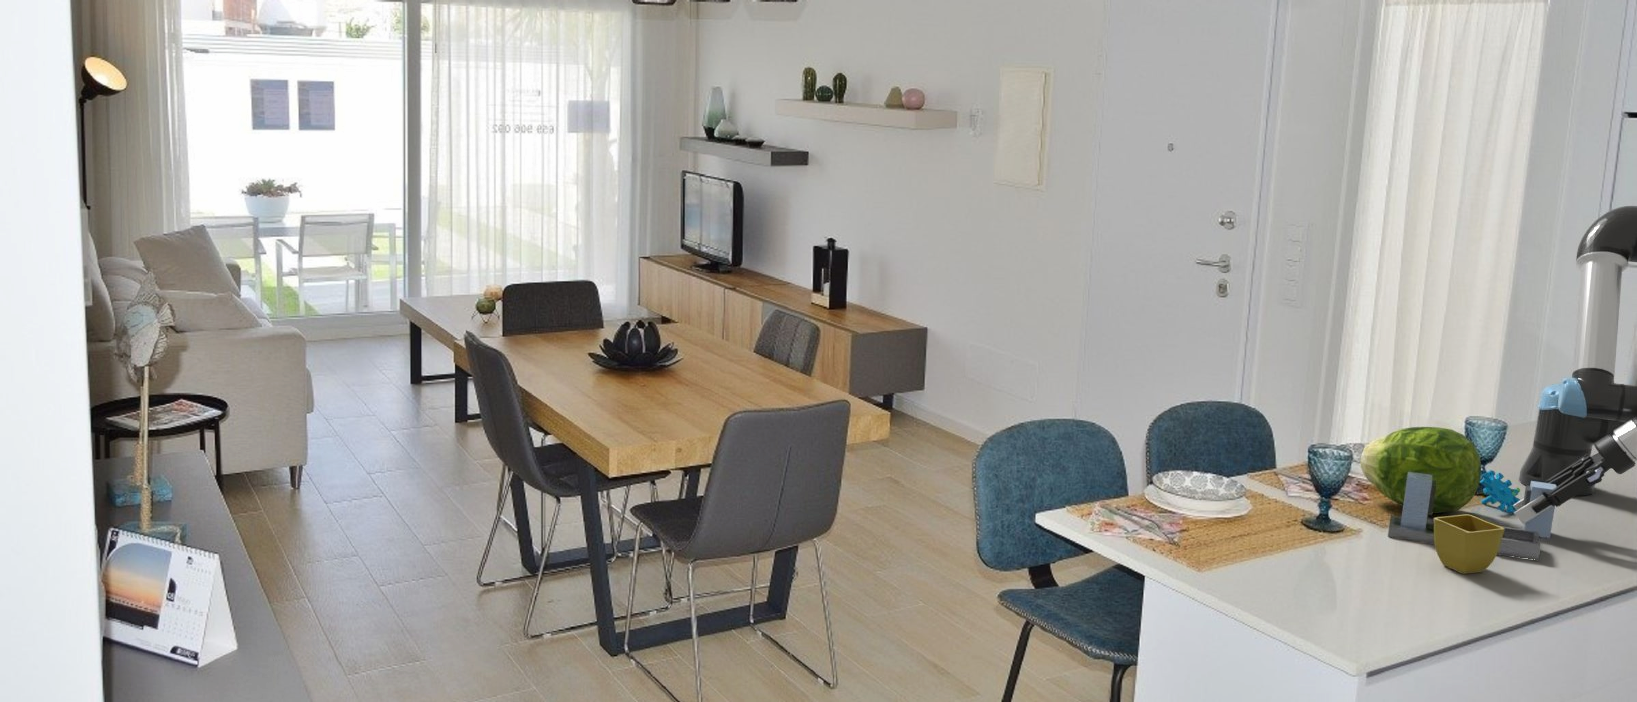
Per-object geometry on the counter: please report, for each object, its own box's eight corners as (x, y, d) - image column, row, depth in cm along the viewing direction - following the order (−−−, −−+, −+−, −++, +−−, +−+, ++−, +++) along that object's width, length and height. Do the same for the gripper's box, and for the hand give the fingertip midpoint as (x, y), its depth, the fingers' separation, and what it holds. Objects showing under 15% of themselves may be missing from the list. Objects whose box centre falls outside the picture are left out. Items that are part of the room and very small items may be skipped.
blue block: (1519, 527, 285) (1526, 480, 283) (1548, 531, 283) (1555, 484, 281) (1520, 533, 281) (1527, 486, 279) (1549, 538, 279) (1557, 490, 277)
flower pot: (1426, 562, 262) (1432, 516, 260) (1462, 558, 265) (1468, 513, 263) (1462, 579, 254) (1469, 532, 252) (1499, 575, 257) (1506, 528, 255)
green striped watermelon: (1373, 486, 309) (1384, 406, 305) (1485, 512, 294) (1498, 428, 290) (1341, 504, 295) (1352, 421, 291) (1457, 532, 280) (1470, 445, 276)
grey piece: (1389, 524, 283) (1397, 467, 281) (1535, 547, 273) (1545, 488, 271) (1387, 536, 276) (1395, 478, 273) (1538, 561, 265) (1547, 500, 263)
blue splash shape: (1498, 509, 291) (1478, 467, 296) (1477, 522, 295) (1457, 480, 300) (1534, 511, 296) (1513, 470, 301) (1512, 524, 300) (1491, 483, 305)
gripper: (1643, 474, 265) (1533, 542, 274) (1632, 452, 280) (1528, 516, 290) (1616, 443, 266) (1507, 511, 275) (1606, 423, 281) (1503, 488, 291)
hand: (1518, 514), depth 283 cm, fingers closed on blue block, 4 cm apart
